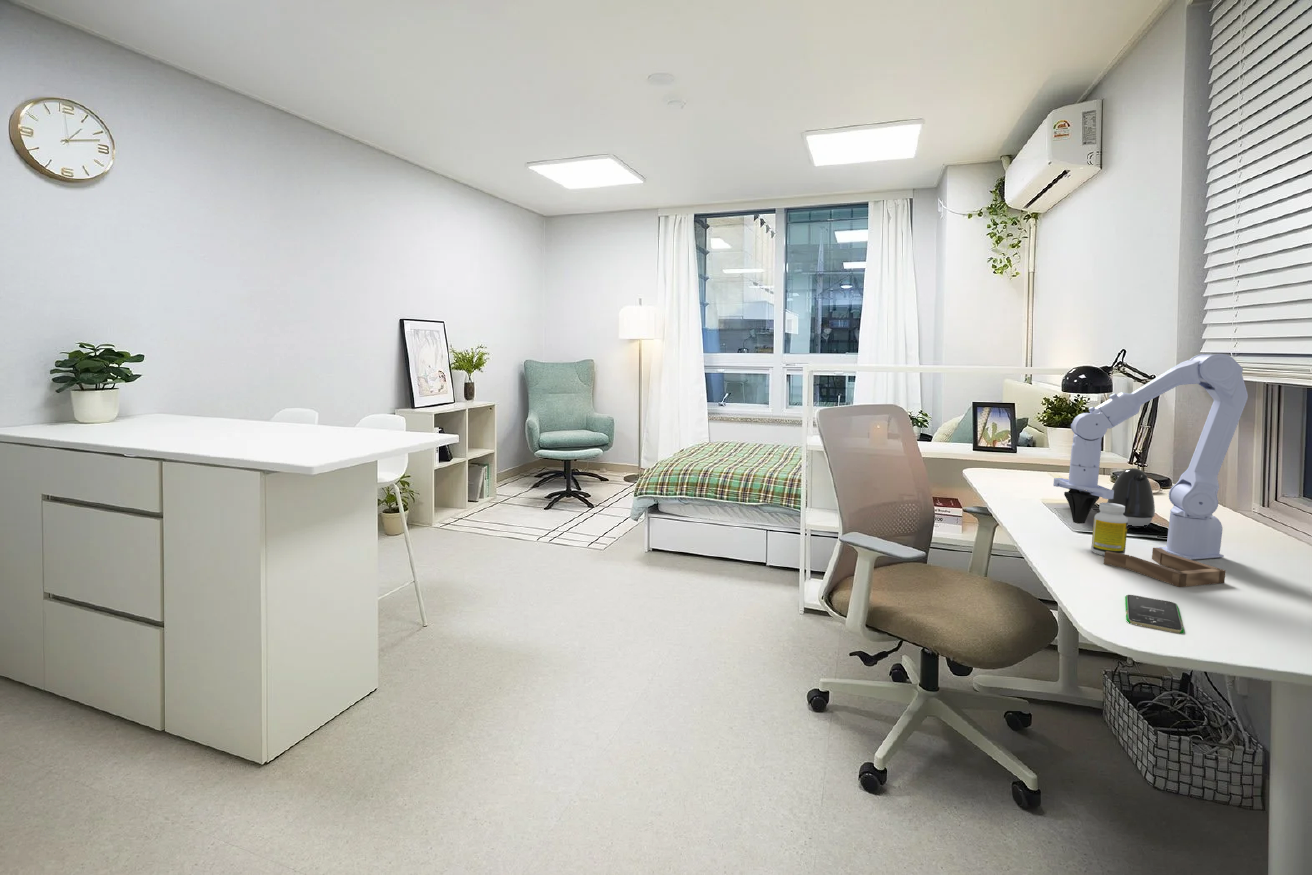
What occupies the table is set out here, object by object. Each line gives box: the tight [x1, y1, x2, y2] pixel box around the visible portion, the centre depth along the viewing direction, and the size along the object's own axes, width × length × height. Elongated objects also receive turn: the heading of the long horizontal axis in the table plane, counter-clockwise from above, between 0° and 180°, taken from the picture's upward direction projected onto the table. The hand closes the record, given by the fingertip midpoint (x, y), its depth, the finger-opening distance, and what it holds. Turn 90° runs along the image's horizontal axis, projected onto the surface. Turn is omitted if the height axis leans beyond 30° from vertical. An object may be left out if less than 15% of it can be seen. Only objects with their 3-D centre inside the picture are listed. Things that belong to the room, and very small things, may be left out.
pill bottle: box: [1091, 502, 1128, 556], centre depth 146 cm, size 6×6×11 cm
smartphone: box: [1124, 594, 1185, 634], centre depth 113 cm, size 8×1×15 cm
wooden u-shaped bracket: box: [1103, 547, 1227, 588], centre depth 135 cm, size 15×15×2 cm
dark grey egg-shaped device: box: [1106, 467, 1156, 526], centre depth 169 cm, size 10×10×15 cm
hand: (1078, 522), depth 154 cm, fingers closed
